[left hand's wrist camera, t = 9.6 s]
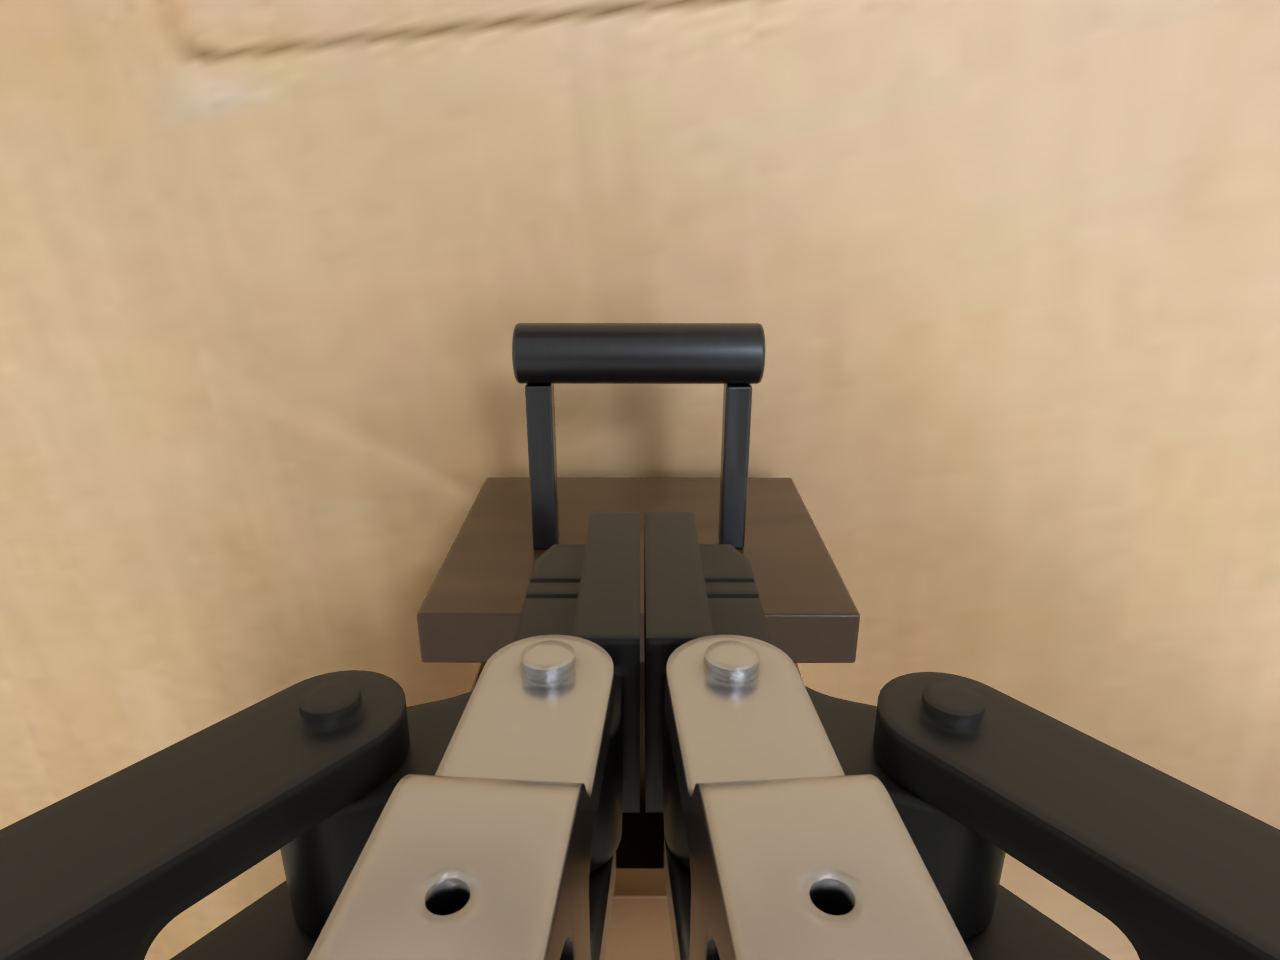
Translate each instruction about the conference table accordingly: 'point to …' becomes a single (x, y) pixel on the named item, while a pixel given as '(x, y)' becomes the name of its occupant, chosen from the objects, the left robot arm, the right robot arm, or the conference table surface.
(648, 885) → the cabinet
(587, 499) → the drawer
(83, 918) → the left robot arm
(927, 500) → the conference table surface
